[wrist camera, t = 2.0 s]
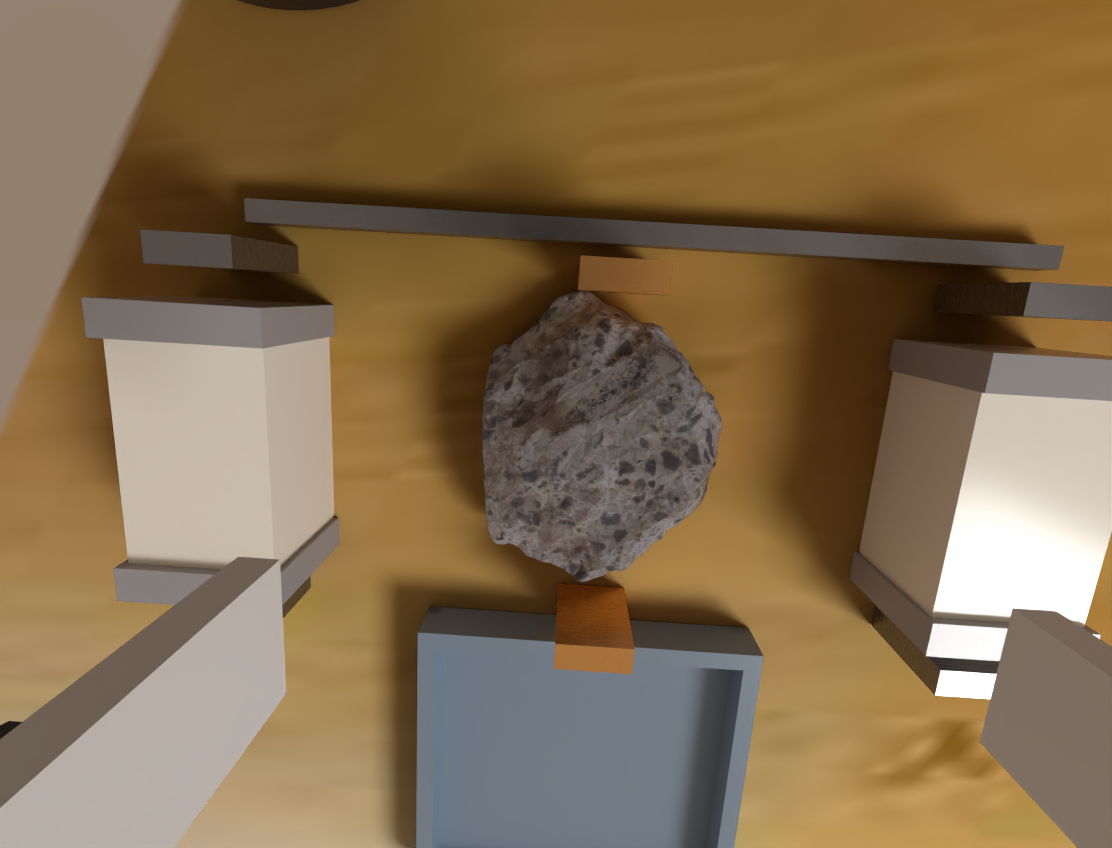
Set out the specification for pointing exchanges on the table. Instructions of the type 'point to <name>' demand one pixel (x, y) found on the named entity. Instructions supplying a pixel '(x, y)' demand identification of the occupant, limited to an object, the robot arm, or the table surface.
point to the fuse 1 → (218, 437)
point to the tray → (580, 736)
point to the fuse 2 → (987, 492)
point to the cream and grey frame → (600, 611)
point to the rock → (593, 438)
